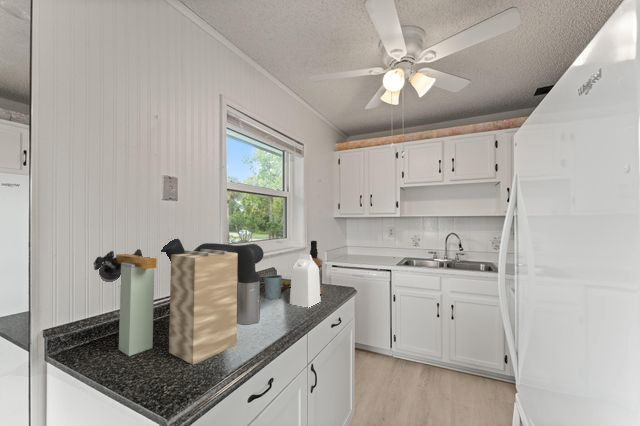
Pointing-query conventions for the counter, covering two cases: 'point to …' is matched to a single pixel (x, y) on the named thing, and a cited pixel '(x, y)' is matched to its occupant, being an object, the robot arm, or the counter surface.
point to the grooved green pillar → (136, 309)
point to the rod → (137, 260)
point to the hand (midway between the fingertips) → (126, 252)
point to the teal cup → (273, 286)
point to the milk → (305, 282)
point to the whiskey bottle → (317, 261)
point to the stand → (202, 304)
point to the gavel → (285, 285)
